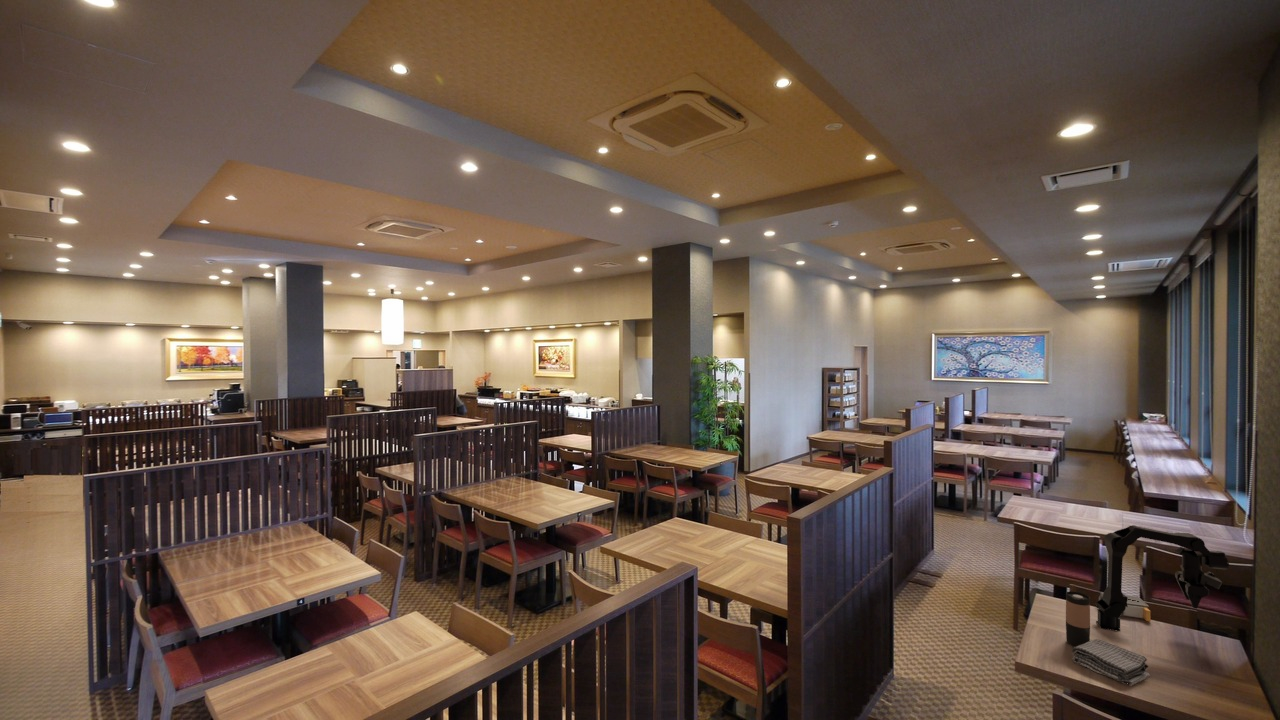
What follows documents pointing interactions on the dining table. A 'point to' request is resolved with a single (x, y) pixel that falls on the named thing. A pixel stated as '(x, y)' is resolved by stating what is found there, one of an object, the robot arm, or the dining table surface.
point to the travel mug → (1077, 618)
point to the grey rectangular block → (1138, 612)
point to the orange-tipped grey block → (1131, 602)
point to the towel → (1111, 661)
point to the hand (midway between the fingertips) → (1191, 603)
